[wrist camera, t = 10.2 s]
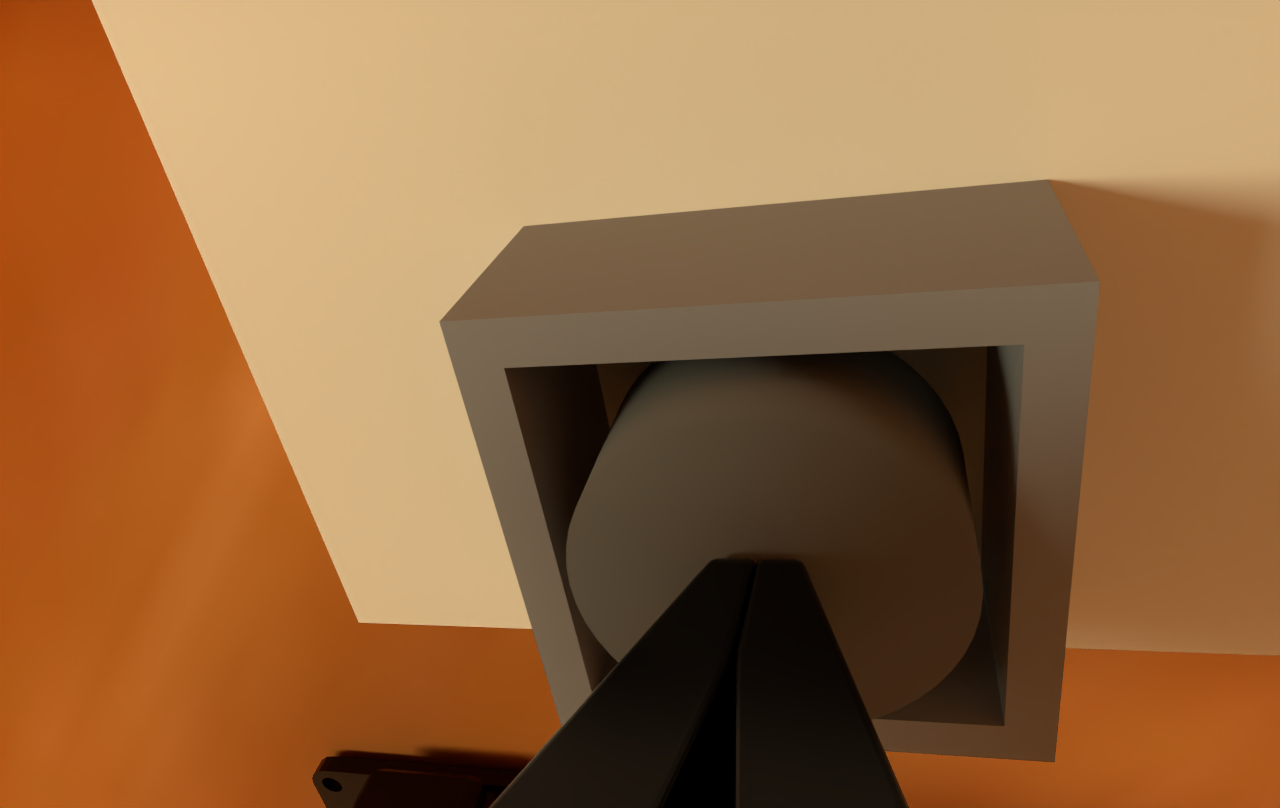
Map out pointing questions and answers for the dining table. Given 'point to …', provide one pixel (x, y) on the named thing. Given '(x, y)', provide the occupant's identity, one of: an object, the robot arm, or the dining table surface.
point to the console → (755, 284)
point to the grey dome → (789, 506)
